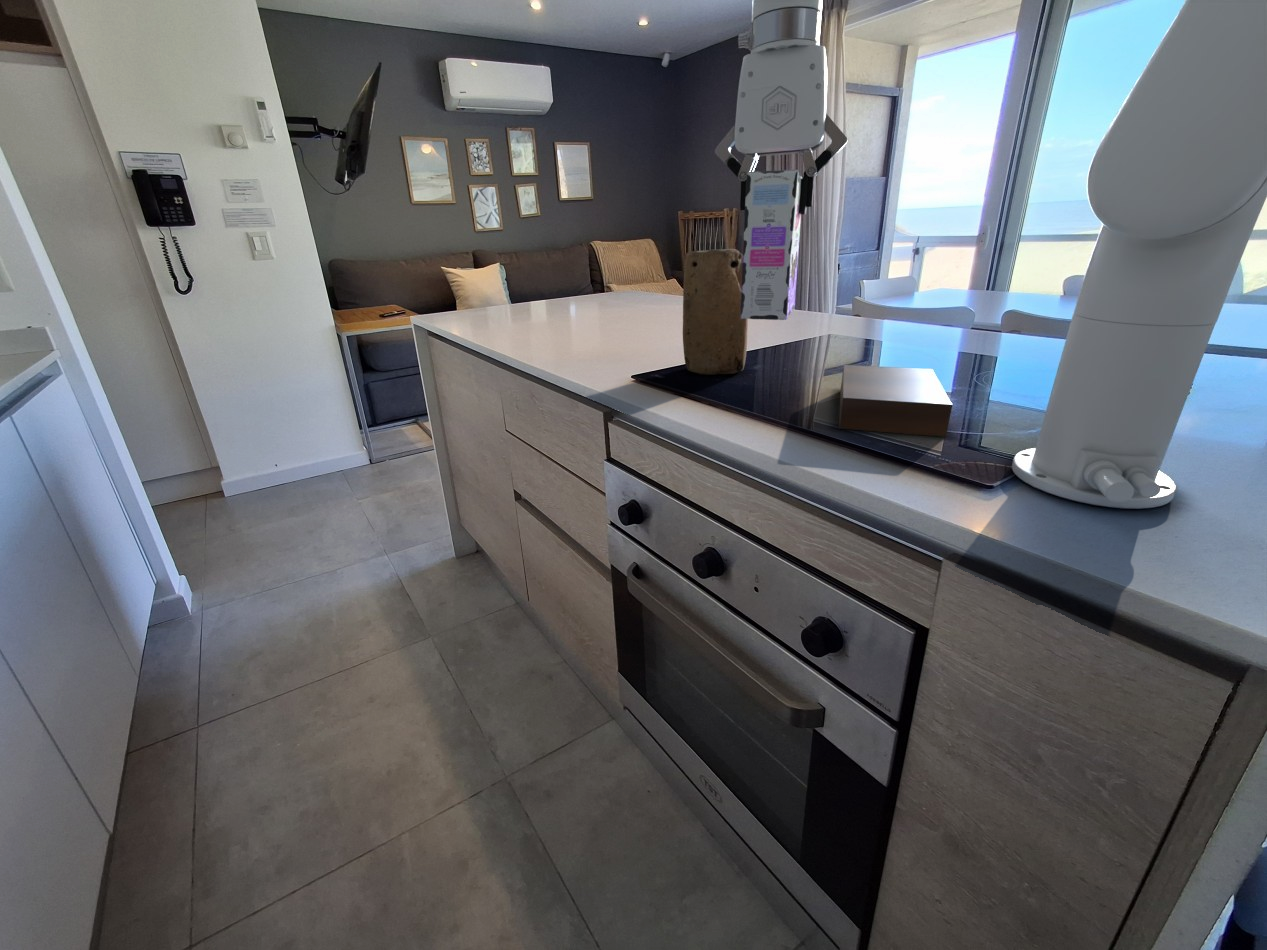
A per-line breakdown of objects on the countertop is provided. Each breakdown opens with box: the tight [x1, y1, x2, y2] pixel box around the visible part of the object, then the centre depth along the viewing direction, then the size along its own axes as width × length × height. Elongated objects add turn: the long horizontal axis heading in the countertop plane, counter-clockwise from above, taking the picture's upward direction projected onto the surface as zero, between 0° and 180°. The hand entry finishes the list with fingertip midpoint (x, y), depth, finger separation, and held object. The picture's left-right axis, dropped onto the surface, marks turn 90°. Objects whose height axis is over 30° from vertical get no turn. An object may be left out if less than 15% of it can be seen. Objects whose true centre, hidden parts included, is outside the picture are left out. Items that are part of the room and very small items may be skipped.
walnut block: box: [838, 364, 953, 438], centre depth 76 cm, size 18×12×4 cm, turn 161°
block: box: [682, 248, 749, 376], centre depth 96 cm, size 11×8×20 cm
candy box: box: [740, 169, 803, 321], centre depth 72 cm, size 14×6×16 cm, turn 161°
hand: (775, 214), depth 71 cm, fingers closed on candy box, 5 cm apart
